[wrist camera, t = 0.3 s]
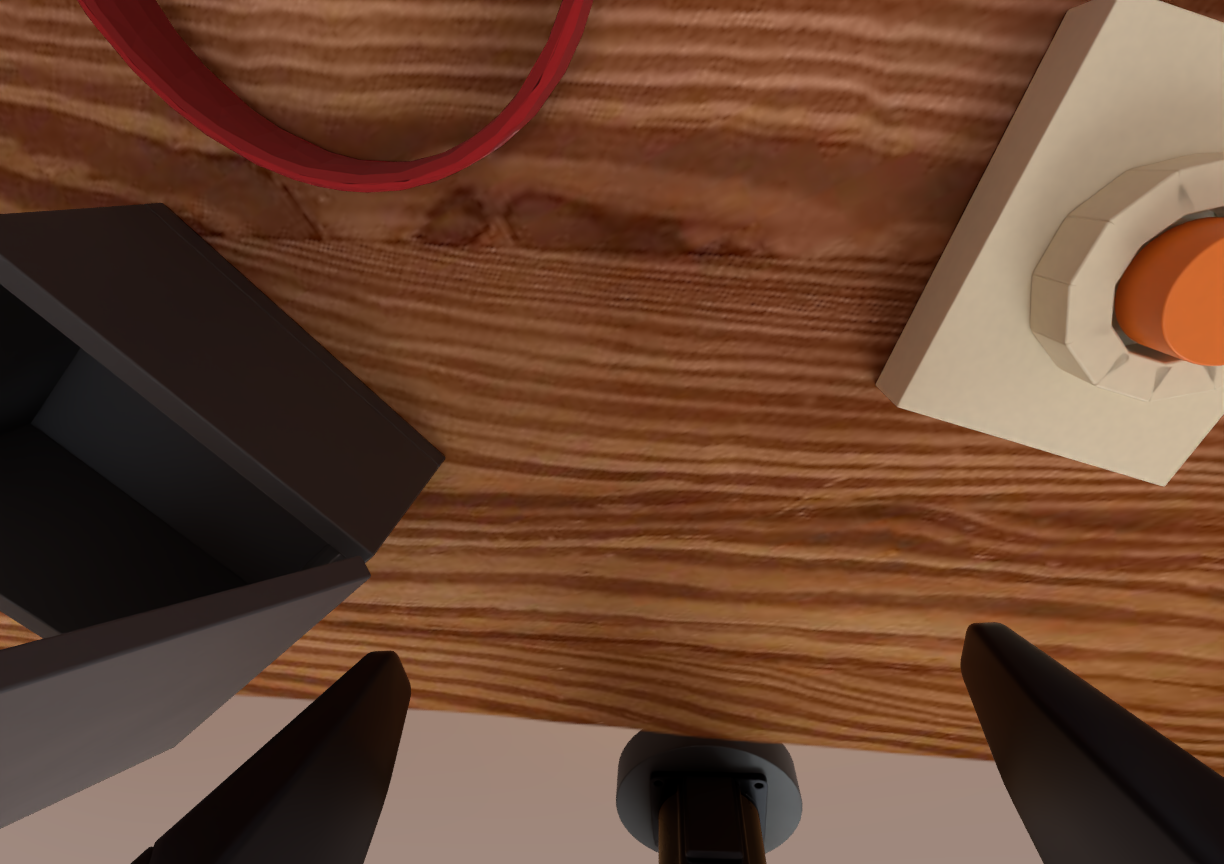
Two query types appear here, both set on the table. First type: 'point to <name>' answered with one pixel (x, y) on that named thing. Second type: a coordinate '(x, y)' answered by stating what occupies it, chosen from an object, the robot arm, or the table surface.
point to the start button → (1178, 293)
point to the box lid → (144, 681)
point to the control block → (1079, 250)
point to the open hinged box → (172, 426)
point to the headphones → (185, 84)
